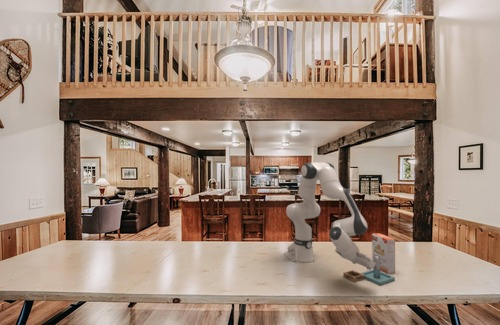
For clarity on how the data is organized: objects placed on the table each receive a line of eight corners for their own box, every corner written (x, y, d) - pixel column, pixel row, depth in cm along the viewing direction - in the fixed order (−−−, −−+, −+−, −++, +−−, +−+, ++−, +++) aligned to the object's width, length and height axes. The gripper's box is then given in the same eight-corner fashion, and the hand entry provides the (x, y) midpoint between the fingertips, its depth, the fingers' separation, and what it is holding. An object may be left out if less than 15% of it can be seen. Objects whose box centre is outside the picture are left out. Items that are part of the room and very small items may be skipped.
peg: (372, 276, 149) (371, 255, 149) (376, 275, 151) (375, 254, 151) (377, 279, 146) (377, 257, 146) (381, 277, 148) (381, 256, 148)
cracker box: (371, 265, 169) (371, 233, 169) (379, 264, 170) (379, 232, 170) (387, 274, 155) (386, 239, 155) (395, 273, 156) (395, 238, 156)
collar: (343, 276, 151) (343, 272, 151) (352, 274, 155) (352, 270, 155) (354, 282, 144) (354, 277, 144) (364, 279, 148) (364, 274, 148)
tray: (359, 276, 151) (359, 273, 151) (374, 272, 157) (374, 269, 157) (380, 285, 140) (380, 282, 140) (394, 280, 146) (394, 277, 146)
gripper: (369, 251, 130) (382, 267, 135) (338, 241, 148) (350, 255, 153) (363, 262, 128) (376, 278, 133) (332, 250, 146) (344, 264, 151)
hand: (362, 265), depth 143 cm, fingers open, 8 cm apart
